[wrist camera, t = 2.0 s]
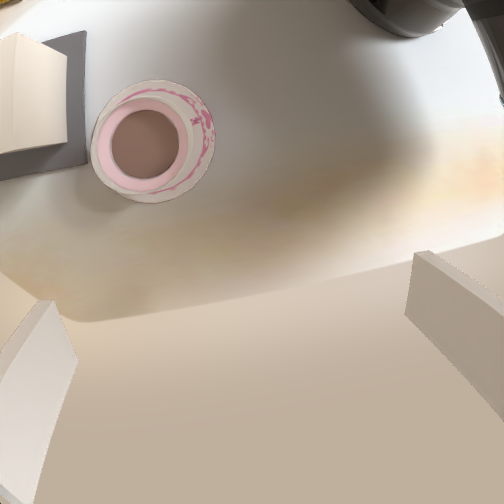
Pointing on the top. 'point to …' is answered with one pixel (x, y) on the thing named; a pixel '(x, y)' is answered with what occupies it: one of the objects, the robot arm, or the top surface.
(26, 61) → the tile
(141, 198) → the teacup
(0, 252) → the top surface
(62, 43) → the mat
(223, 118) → the top surface
